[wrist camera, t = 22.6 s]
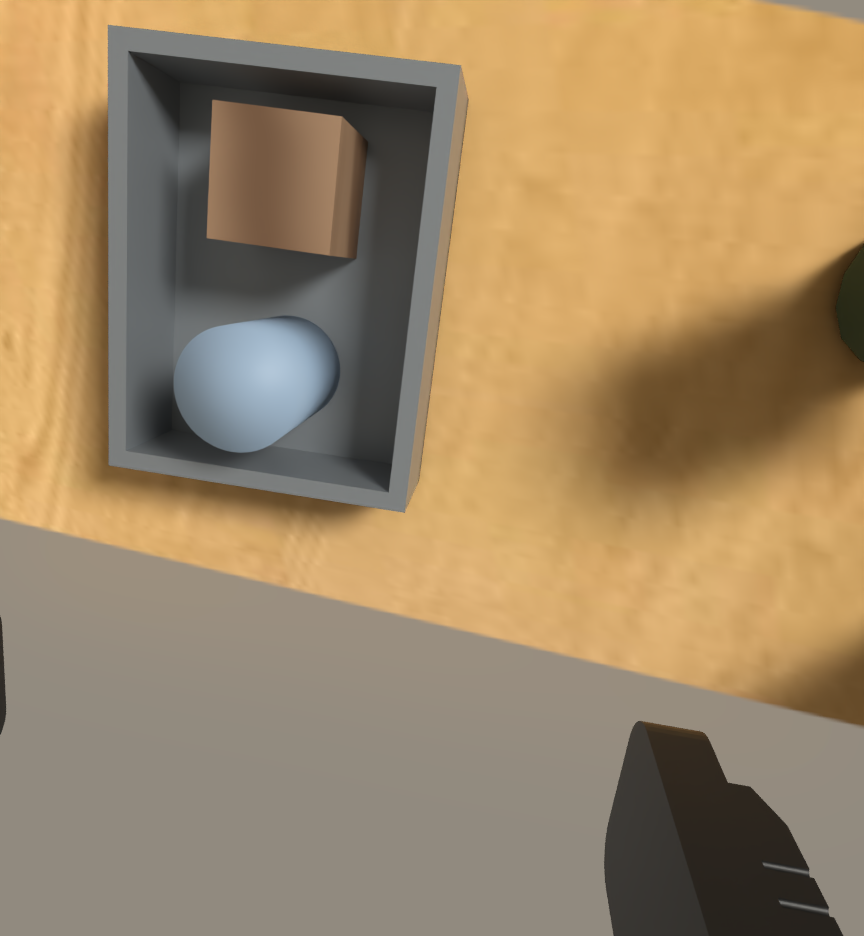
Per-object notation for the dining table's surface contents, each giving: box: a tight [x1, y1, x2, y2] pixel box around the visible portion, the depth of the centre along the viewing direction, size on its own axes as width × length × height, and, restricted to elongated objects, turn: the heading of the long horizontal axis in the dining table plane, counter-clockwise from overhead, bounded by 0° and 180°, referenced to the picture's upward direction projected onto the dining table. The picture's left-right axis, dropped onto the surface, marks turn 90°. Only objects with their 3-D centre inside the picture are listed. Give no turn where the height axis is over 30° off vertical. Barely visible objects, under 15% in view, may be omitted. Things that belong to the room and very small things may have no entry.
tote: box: [108, 25, 468, 513], centre depth 31 cm, size 14×18×5 cm
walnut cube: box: [207, 100, 368, 259], centre depth 29 cm, size 5×5×5 cm
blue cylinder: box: [174, 315, 340, 453], centre depth 30 cm, size 5×5×7 cm
